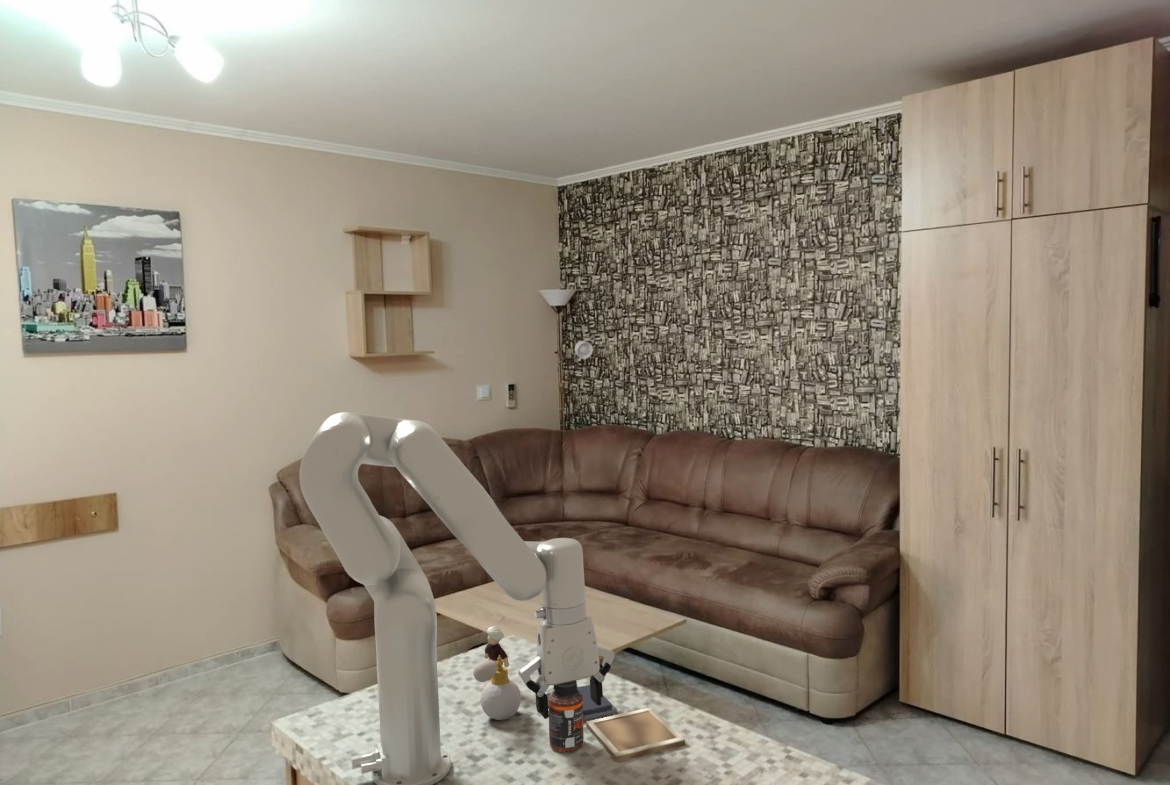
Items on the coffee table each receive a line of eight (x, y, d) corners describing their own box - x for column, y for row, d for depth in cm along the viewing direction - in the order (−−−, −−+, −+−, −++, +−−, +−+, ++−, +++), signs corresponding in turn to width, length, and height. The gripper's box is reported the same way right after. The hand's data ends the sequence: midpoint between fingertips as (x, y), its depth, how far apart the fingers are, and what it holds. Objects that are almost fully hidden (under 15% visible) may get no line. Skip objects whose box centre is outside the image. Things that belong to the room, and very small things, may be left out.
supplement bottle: (580, 755, 132) (578, 690, 131) (545, 752, 133) (543, 688, 132) (587, 737, 138) (585, 675, 137) (554, 735, 139) (552, 673, 138)
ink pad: (561, 726, 142) (561, 717, 142) (541, 701, 152) (541, 692, 152) (617, 714, 146) (616, 705, 146) (594, 690, 156) (593, 682, 156)
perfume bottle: (526, 708, 149) (524, 647, 148) (511, 733, 140) (509, 668, 139) (488, 705, 151) (486, 645, 150) (471, 730, 141) (469, 666, 140)
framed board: (616, 761, 129) (615, 756, 129) (586, 726, 141) (586, 721, 141) (685, 744, 134) (685, 739, 134) (650, 712, 146) (650, 707, 146)
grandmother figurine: (475, 687, 159) (473, 626, 158) (488, 680, 162) (486, 620, 161) (504, 696, 155) (502, 633, 154) (517, 689, 158) (515, 627, 157)
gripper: (522, 629, 127) (529, 730, 128) (619, 609, 134) (625, 706, 135) (509, 614, 134) (515, 711, 135) (602, 596, 141) (607, 688, 142)
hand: (570, 708), depth 135 cm, fingers open, 9 cm apart
